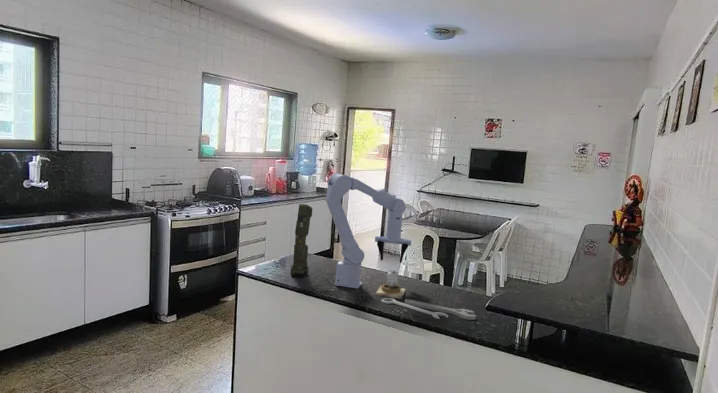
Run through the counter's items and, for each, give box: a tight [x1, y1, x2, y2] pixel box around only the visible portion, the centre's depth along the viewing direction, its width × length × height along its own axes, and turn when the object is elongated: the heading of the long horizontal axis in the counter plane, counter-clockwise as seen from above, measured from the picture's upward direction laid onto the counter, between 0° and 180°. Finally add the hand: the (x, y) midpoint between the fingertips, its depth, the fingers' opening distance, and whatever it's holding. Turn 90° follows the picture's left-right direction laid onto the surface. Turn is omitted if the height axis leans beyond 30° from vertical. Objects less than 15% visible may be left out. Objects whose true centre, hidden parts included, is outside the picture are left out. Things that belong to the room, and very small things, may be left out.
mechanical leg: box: [290, 203, 313, 279], centre depth 189 cm, size 14×7×30 cm, turn 179°
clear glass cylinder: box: [385, 270, 399, 289], centre depth 173 cm, size 4×4×8 cm
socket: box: [375, 283, 406, 300], centre depth 174 cm, size 10×10×2 cm
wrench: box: [380, 297, 449, 320], centre depth 159 cm, size 25×2×5 cm
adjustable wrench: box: [404, 299, 477, 321], centre depth 160 cm, size 25×6×2 cm, turn 61°
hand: (391, 261), depth 185 cm, fingers open, 7 cm apart
